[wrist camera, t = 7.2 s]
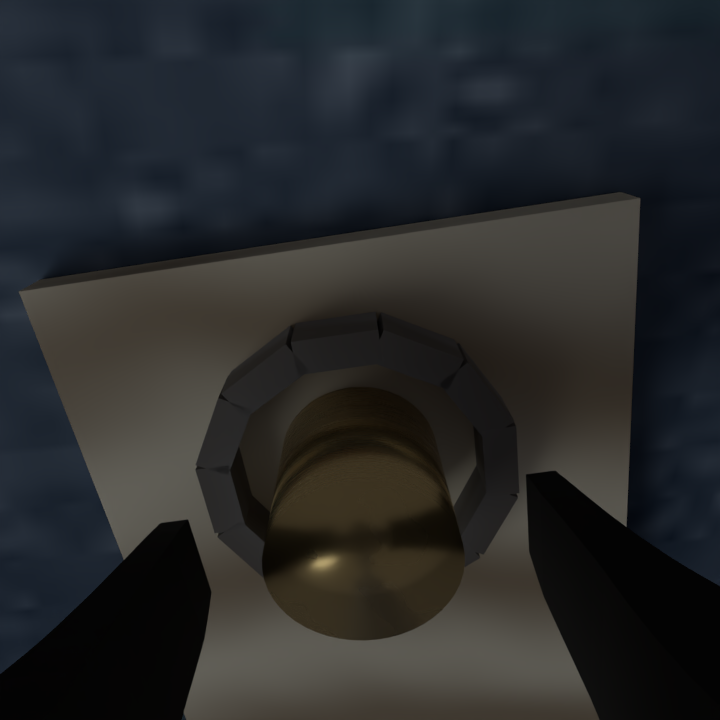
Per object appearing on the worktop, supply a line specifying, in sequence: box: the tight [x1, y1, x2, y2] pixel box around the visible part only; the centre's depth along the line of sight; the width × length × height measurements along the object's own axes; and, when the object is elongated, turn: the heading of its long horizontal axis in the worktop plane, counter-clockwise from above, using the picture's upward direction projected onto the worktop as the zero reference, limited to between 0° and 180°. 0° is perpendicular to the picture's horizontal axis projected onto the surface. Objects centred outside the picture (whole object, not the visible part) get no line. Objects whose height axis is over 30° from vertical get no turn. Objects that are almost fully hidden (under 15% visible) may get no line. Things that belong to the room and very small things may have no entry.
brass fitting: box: [262, 387, 465, 641], centre depth 13 cm, size 4×4×4 cm
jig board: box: [19, 192, 640, 720], centre depth 17 cm, size 20×14×2 cm
